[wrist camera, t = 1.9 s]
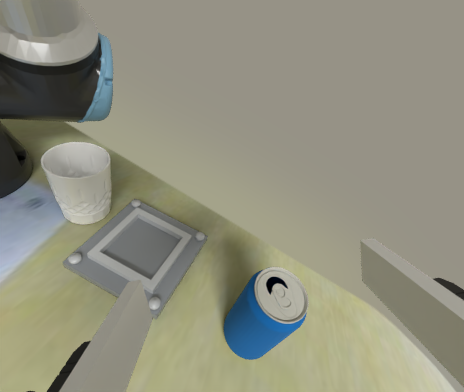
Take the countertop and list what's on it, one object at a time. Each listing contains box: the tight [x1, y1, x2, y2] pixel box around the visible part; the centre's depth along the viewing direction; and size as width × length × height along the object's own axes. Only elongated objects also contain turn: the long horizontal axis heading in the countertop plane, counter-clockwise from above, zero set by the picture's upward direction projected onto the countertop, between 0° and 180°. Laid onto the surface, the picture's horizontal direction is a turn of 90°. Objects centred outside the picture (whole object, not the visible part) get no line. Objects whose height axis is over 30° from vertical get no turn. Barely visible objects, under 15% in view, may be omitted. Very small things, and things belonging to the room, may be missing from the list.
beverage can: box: [224, 267, 308, 360], centre depth 28 cm, size 6×6×12 cm
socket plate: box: [63, 199, 208, 319], centre depth 36 cm, size 14×14×2 cm
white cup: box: [41, 142, 111, 225], centre depth 36 cm, size 8×8×10 cm
